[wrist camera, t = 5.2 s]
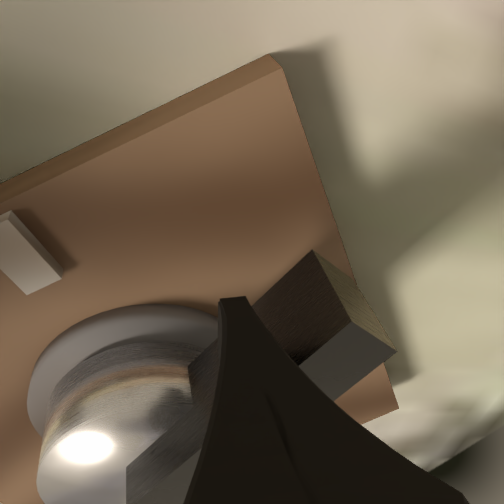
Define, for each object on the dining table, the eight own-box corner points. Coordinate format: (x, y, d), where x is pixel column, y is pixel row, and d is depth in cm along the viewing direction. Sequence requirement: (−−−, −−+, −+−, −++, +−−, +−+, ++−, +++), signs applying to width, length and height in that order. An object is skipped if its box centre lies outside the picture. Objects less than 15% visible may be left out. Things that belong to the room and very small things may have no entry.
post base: (385, 384, 25) (406, 422, 23) (81, 516, 26) (77, 562, 24) (268, 53, 14) (290, 76, 12) (-257, 308, 15) (-310, 364, 13)
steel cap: (165, 477, 21) (172, 580, 17) (8, 435, 17) (-19, 556, 14) (384, 292, 17) (444, 382, 14) (242, 185, 13) (281, 274, 10)
